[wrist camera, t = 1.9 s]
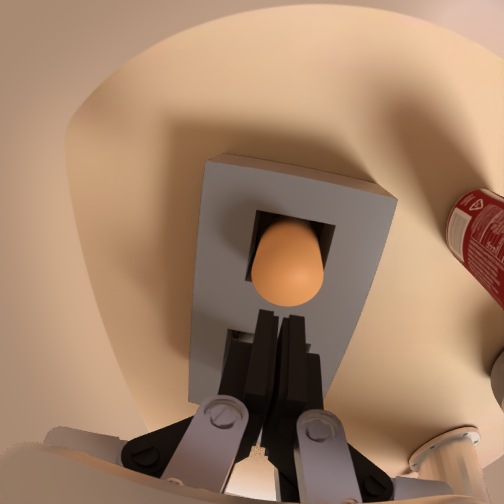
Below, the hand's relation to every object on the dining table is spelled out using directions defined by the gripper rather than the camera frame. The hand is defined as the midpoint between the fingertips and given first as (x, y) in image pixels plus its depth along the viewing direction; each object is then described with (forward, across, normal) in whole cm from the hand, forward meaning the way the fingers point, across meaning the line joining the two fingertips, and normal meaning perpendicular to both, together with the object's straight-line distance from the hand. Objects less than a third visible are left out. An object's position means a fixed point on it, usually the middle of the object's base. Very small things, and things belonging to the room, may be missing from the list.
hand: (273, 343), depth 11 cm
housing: (+14, -1, +8) cm, 16 cm away
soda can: (+14, -17, -3) cm, 22 cm away
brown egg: (+11, -1, +1) cm, 11 cm away
